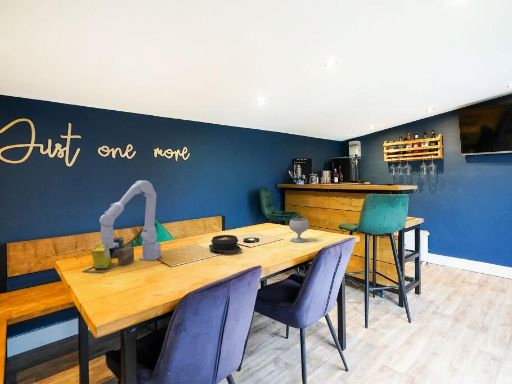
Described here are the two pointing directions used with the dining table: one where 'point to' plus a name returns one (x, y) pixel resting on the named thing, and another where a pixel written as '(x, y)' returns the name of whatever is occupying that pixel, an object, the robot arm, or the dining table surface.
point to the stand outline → (97, 271)
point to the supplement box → (101, 256)
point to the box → (120, 246)
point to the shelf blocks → (125, 256)
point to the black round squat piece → (225, 244)
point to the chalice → (299, 228)
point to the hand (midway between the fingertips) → (108, 263)
